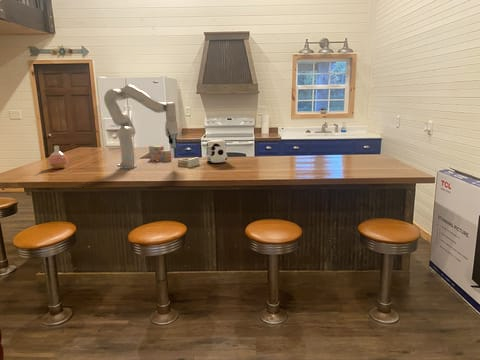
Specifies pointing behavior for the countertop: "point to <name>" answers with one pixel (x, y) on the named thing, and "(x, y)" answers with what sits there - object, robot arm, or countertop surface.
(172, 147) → the dowel
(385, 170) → the countertop surface
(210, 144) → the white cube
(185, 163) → the block
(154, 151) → the stack of blocks
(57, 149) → the vase
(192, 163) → the wall
